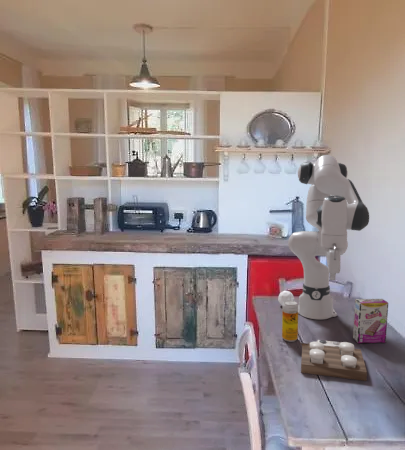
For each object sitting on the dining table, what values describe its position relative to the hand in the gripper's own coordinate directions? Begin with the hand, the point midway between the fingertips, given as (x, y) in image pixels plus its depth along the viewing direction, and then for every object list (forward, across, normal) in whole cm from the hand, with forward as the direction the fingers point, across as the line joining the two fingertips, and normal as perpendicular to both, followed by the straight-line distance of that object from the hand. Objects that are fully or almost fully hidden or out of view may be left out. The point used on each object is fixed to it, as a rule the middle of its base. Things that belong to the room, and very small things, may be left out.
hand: (332, 279), depth 134 cm
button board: (+27, -11, 0) cm, 29 cm away
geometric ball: (+27, +44, +19) cm, 55 cm away
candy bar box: (+27, +12, -15) cm, 33 cm away
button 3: (+25, -15, +5) cm, 30 cm away
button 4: (+26, -15, -5) cm, 31 cm away
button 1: (+26, -7, +5) cm, 28 cm away
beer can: (+27, +6, +15) cm, 32 cm away
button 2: (+25, -7, -5) cm, 27 cm away
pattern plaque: (+27, +3, 0) cm, 27 cm away
